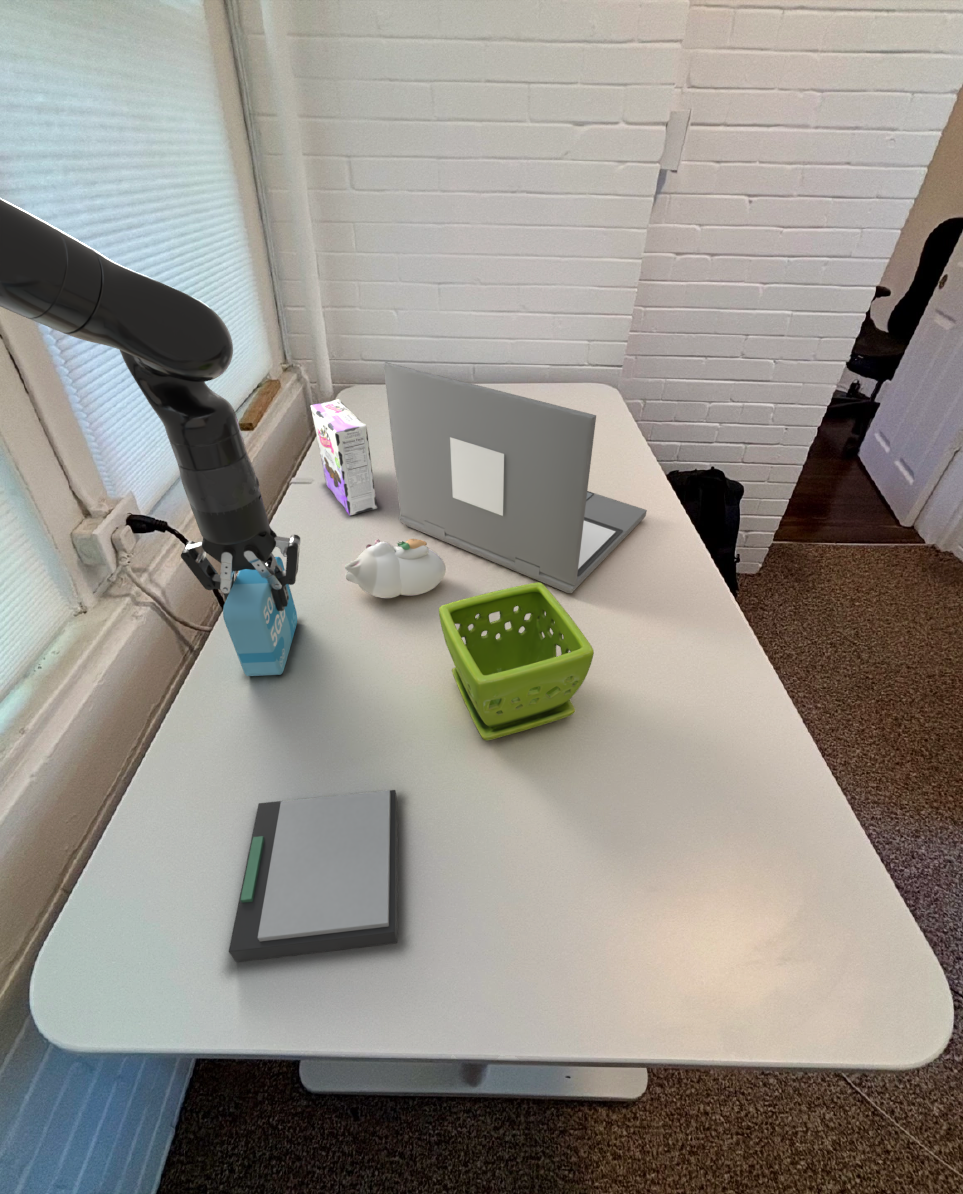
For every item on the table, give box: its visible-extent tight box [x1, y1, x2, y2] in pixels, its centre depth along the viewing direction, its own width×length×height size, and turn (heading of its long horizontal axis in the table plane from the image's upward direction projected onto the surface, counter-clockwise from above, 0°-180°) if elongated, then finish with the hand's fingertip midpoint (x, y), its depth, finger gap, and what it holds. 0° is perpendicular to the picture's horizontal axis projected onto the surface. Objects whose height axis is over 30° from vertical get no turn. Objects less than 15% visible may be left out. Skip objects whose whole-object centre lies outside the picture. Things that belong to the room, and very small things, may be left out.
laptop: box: [383, 361, 648, 594], centre depth 96 cm, size 35×26×28 cm
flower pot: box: [438, 581, 595, 741], centre depth 70 cm, size 14×14×13 cm
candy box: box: [310, 398, 378, 516], centre depth 108 cm, size 14×6×16 cm, turn 30°
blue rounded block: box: [222, 556, 298, 677], centre depth 78 cm, size 12×4×12 cm, turn 3°
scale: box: [228, 789, 399, 963], centre depth 56 cm, size 14×14×3 cm
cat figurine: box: [344, 538, 446, 599], centre depth 88 cm, size 10×8×15 cm
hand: (261, 607), depth 77 cm, fingers closed on blue rounded block, 4 cm apart
